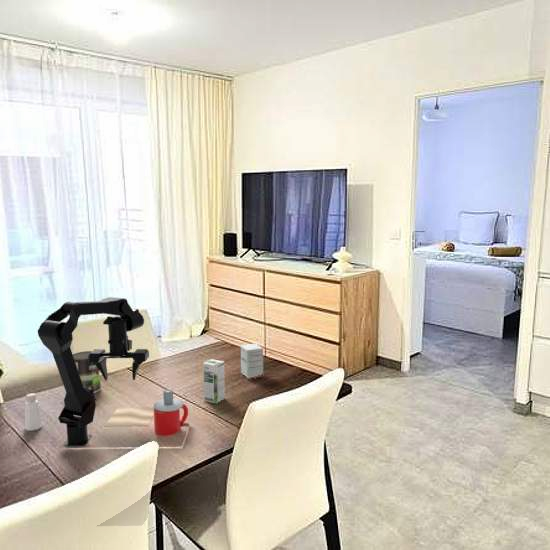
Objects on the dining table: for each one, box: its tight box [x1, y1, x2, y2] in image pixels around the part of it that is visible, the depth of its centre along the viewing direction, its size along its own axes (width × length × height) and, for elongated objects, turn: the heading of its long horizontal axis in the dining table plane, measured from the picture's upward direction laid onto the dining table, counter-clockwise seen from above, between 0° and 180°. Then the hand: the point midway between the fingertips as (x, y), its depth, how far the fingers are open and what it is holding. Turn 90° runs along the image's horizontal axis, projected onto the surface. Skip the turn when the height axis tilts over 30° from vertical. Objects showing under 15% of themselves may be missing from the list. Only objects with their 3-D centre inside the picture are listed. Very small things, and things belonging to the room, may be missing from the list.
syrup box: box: [202, 358, 226, 405], centre depth 174 cm, size 6×6×14 cm
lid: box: [153, 389, 184, 412], centre depth 152 cm, size 9×9×5 cm
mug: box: [153, 403, 189, 437], centre depth 153 cm, size 8×12×8 cm, turn 140°
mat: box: [104, 406, 154, 427], centre depth 161 cm, size 14×14×1 cm
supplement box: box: [240, 343, 264, 378], centre depth 198 cm, size 7×7×13 cm
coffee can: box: [72, 350, 102, 394], centre depth 183 cm, size 10×10×14 cm
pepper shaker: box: [24, 392, 43, 432], centre depth 154 cm, size 5×5×11 cm
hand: (120, 380), depth 161 cm, fingers open, 9 cm apart
